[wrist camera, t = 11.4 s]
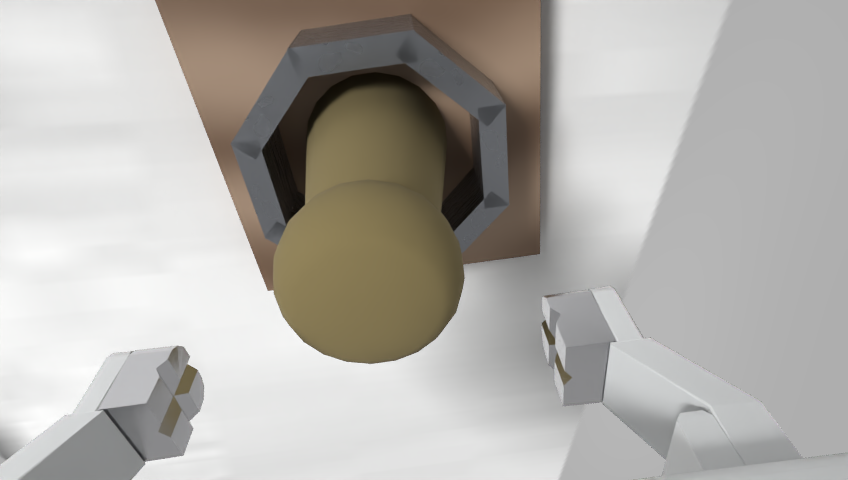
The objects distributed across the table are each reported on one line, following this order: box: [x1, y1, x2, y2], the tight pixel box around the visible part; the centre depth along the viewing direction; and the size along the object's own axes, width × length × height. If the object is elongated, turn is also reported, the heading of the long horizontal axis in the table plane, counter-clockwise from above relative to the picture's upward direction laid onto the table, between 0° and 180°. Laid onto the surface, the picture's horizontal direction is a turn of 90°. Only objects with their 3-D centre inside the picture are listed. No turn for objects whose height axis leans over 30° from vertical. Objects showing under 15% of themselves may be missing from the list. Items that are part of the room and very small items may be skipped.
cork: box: [273, 72, 464, 364], centre depth 17 cm, size 6×6×11 cm
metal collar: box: [230, 13, 509, 253], centre depth 20 cm, size 10×10×3 cm
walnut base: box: [155, 0, 541, 291], centre depth 22 cm, size 14×14×2 cm
